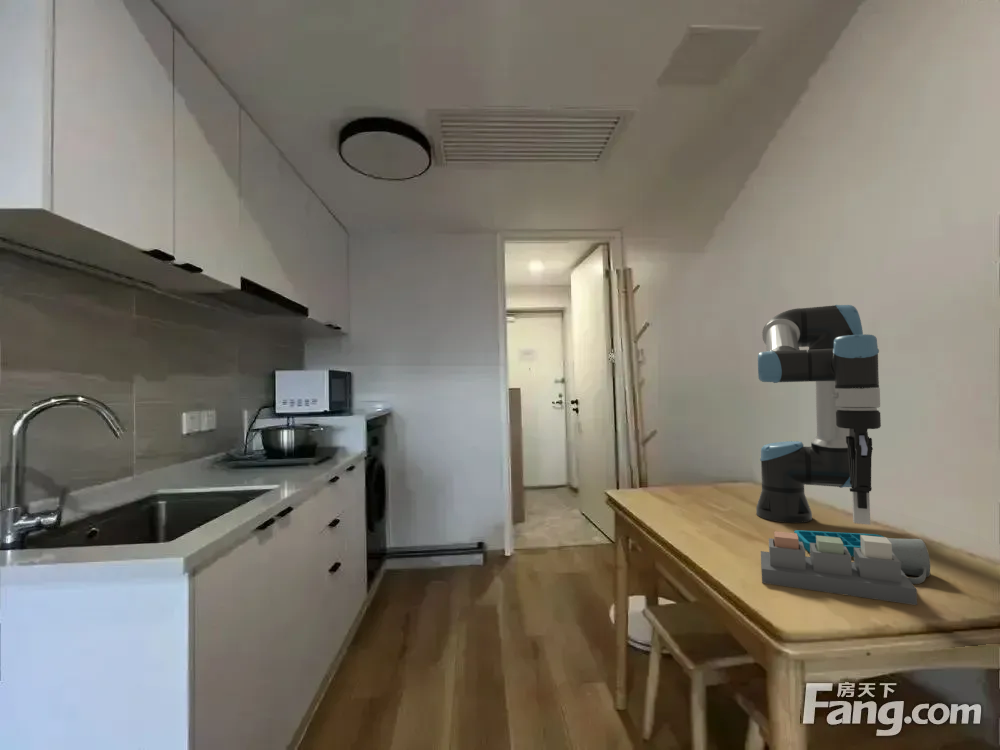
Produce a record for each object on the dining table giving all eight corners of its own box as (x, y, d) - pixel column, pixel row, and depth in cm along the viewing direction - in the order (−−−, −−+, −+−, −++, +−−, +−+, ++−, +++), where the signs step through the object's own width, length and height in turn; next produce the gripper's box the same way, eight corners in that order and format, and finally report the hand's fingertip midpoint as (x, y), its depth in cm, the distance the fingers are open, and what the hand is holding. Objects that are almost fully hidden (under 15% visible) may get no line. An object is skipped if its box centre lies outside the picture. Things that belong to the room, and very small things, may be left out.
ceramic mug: (875, 564, 114) (874, 531, 114) (920, 569, 110) (919, 535, 110) (888, 582, 104) (887, 546, 104) (937, 588, 101) (936, 551, 101)
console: (761, 563, 116) (760, 534, 116) (900, 581, 104) (898, 548, 104) (762, 582, 105) (761, 549, 105) (917, 605, 93) (915, 568, 94)
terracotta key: (774, 551, 111) (774, 531, 111) (797, 553, 109) (796, 533, 109) (775, 557, 107) (774, 536, 108) (799, 560, 105) (798, 539, 106)
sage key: (816, 555, 108) (815, 535, 108) (840, 558, 106) (840, 537, 106) (819, 562, 104) (818, 541, 104) (844, 565, 102) (843, 543, 102)
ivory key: (861, 556, 104) (860, 534, 104) (887, 559, 102) (886, 537, 102) (865, 563, 100) (864, 541, 100) (892, 566, 98) (891, 543, 98)
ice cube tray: (793, 541, 133) (792, 529, 133) (880, 546, 127) (880, 534, 127) (807, 556, 121) (806, 543, 121) (904, 562, 116) (903, 549, 116)
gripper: (831, 407, 110) (835, 513, 110) (840, 410, 99) (844, 529, 98) (873, 407, 107) (877, 517, 106) (887, 410, 95) (891, 533, 94)
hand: (861, 522), depth 102 cm, fingers closed
